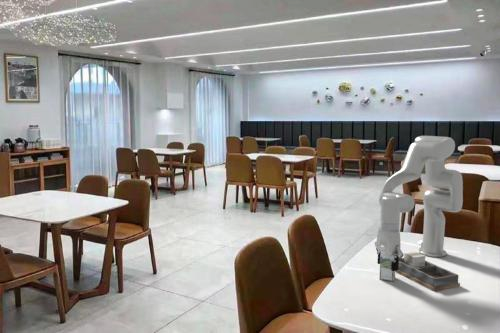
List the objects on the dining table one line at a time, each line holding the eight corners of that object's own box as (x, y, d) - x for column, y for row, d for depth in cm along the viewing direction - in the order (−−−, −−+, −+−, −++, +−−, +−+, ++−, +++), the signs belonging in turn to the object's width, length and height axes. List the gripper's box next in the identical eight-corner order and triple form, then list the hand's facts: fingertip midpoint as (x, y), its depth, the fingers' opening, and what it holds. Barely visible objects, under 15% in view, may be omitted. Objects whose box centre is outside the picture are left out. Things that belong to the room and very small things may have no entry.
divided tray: (391, 269, 195) (392, 251, 194) (415, 265, 200) (416, 248, 199) (433, 291, 173) (434, 271, 171) (459, 286, 178) (461, 266, 177)
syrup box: (395, 277, 187) (396, 243, 185) (393, 282, 182) (395, 247, 180) (381, 274, 189) (382, 242, 187) (379, 279, 184) (380, 245, 182)
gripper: (369, 221, 189) (367, 261, 191) (396, 232, 173) (394, 275, 175) (383, 220, 192) (381, 259, 194) (411, 230, 176) (409, 273, 178)
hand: (387, 266), depth 185 cm, fingers closed on syrup box, 8 cm apart
